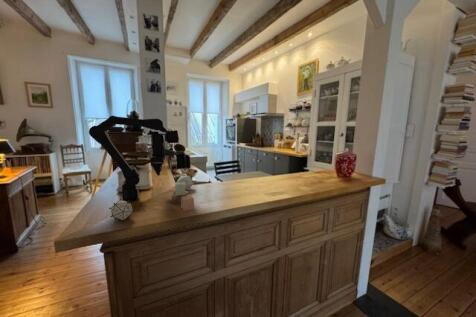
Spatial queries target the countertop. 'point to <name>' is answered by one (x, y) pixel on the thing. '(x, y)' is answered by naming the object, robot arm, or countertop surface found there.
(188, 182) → the die
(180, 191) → the sage block
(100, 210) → the countertop surface
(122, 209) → the game die
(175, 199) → the walnut base
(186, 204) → the terracotta block
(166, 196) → the countertop surface
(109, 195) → the countertop surface
